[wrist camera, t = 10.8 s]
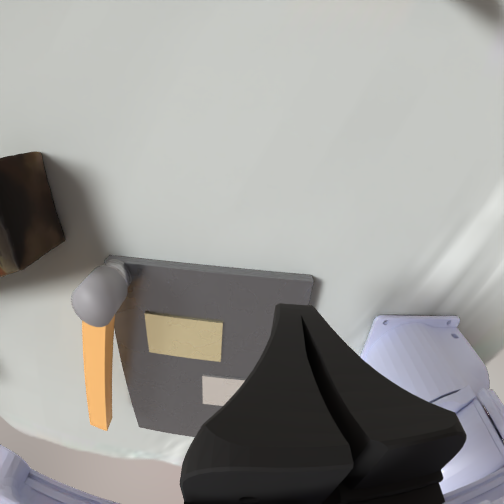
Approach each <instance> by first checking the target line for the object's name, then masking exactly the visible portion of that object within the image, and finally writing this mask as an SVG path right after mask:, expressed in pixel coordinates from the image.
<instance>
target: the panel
mask: <svg viewBox="0 0 504 504" xmlns="http://www.w3.org/2000/svg"><path fill="white" fill-rule="evenodd" d="M104 262H105V264H104V265H103V266H109V267H112V268H114V269H115V270H117V271H118V272H119V273H120V274H121V275H122V276H123V278H124V279H125V281H126V284H127V287H128V293H127V296H126V298H125V300H124V301H123V303H122V304H121V306H120V307H119V309H118V310H117V312H116V314H115V322H114V329H115V334H116V339H117V344H118V349H119V353H120V358H121V362H122V367H123V371H124V375H125V379H126V383H127V387H128V390H129V394H130V398H131V401H132V405H133V408H134V412H135V415H136V418H137V422H138V425H139V427H141V428H146V429H151V430H156V431H161V432H167V433H172V434H178V435H185V436H192V437H195V436H196V435H197V433H198V431H199V430H200V428H201V427H202V425H203V424H204V423H205V422H206V421H207V420H208V419H209V418H210V417H212V416H213V415H214V414H215V413H216V412H217V411H218V410H219V409H220V408H222V407H223V406H224V405H225V404H226V402H227V401H228V400H229V399H230V398H231V397H232V396H233V395H234V394H235V392H236V391H237V390H238V389H239V388H240V387H241V385H242V384H243V383H244V381H245V380H246V379H247V377H248V376H249V374H250V373H251V372H252V370H253V369H254V367H255V365H256V364H257V362H258V360H259V359H260V357H261V355H262V353H263V351H264V349H265V347H266V345H267V342H268V340H269V338H270V335H271V330H272V324H273V318H274V312H275V306H276V305H277V304H279V303H283V304H296V305H309V301H310V296H311V292H312V287H313V282H314V281H313V278H312V275H306V274H295V273H283V272H272V271H261V270H251V269H240V268H230V267H219V266H209V265H199V264H190V263H180V262H170V261H161V260H152V259H142V258H133V257H124V256H116V255H109V256H108V257H107V258H106V259H105V260H104Z"/></svg>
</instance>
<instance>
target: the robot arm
mask: <svg viewBox="0 0 504 504" xmlns="http://www.w3.org/2000/svg"><path fill="white" fill-rule="evenodd" d="M385 320H387V321H386V322H384V321H385ZM447 321H448V322H447ZM383 322H384V323H383ZM459 322H460V318H459V317H458V316H393V315H379V316H377V317H376V318H375V319H374V321H373V324H372V327H371V330H370V332H369V335H368V338H367V340H366V343H365V345H364V348H363V350H362V353H361V355H360V357H359V356H358V355H357V354H356V353H355V352H354V351H353V350H352V349H351V348H350V347H349V346H348V345H347V344H346V343H345V342H344V341H343V340H342V339H341V338H340V337H339V336H338V335H337V333H336V332H335V331H334V330H333V329H332V328H331V327H330V326H329V324H328V323H327V322H326V321H325V320H324V319H323V317H322V316H321V315H320V314H319V313H318V311H317V310H316V309H315V308H314V307H313V306H310V305H296V304H283V303H279V304H277V305H276V306H275V312H274V318H273V324H272V330H271V335H270V338H269V340H268V342H267V345H266V347H265V349H264V351H263V353H262V355H261V357H260V359H259V360H258V362H257V364H256V365H255V367H254V369H253V370H252V372H251V373H250V374H249V376H248V377H247V379H246V380H245V381H244V383H243V384H242V385H241V387H240V388H239V389H238V390H237V391H236V392H235V394H234V395H233V396H232V397H231V398H230V399H229V400H228V401H227V402H226V404H225V405H224V406H223V407H222V408H220V409H219V410H218V411H217V412H216V413H215V414H214V415H213V416H212V417H210V418H209V419H208V420H207V421H206V422H205V423H204V424H203V425H202V427H201V428H200V430H199V431H198V433H197V435H196V436H195V438H194V440H193V442H192V443H191V445H190V447H189V449H188V451H187V453H186V456H185V458H184V461H183V465H182V471H181V478H180V487H181V491H182V494H183V498H184V504H504V442H503V441H504V405H503V404H502V402H501V401H500V399H499V397H498V396H497V395H496V393H495V392H494V391H493V390H492V389H489V388H490V382H489V374H488V371H487V368H486V366H485V364H484V363H483V361H482V360H481V358H480V357H479V356H478V354H477V353H476V352H475V350H474V349H473V348H472V346H471V345H470V344H469V342H468V341H467V340H466V338H465V337H464V336H463V334H462V333H461V332H460V331H459V329H458V328H457V326H458V324H459ZM484 407H485V408H484ZM485 409H486V410H487V411H486V410H485ZM487 412H488V413H487ZM488 414H489V415H488ZM502 439H503V440H502ZM0 504H119V503H116V502H113V501H109V500H106V499H103V498H100V497H97V496H94V495H91V494H88V493H86V492H83V491H80V490H78V489H75V488H73V487H70V486H68V485H65V484H63V483H61V482H58V481H56V480H54V479H52V478H49V477H47V476H45V475H43V474H41V473H39V472H37V471H34V470H33V469H31V468H30V467H29V465H28V464H27V463H26V462H25V461H24V460H23V459H22V458H21V457H20V456H19V455H17V454H16V453H14V452H13V451H11V450H9V449H8V448H6V447H4V446H2V445H1V444H0Z"/></svg>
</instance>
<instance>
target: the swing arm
mask: <svg viewBox="0 0 504 504" xmlns="http://www.w3.org/2000/svg"><path fill="white" fill-rule="evenodd" d="M127 293H128V287H127V284H126V281H125V279H124V278H123V276H122V275H121V274H120V273H119V272H118V271H117V270H115V269H114V268H112V267H109V266H99V267H96V268H95V269H94V270H93V271H92V272H91V273H90V274H89V275H88V276H87V277H86V278H85V279H84V280H83V281H82V282H81V283H80V285H79V286H78V287H77V288H76V289H75V290H74V291H73V293H72V296H71V303H72V306H73V309H74V311H75V313H76V314H77V315H78V317H79V318H80V319H81V320H82V333H83V357H84V372H85V384H86V394H87V402H88V410H89V418H90V424H91V425H93V426H95V427H98V428H100V429H103V430H105V431H107V430H108V427H109V425H110V422H111V420H112V357H113V337H114V322H115V314H116V312H117V310H118V309H119V307H120V306H121V304H122V303H123V301H124V300H125V298H126V296H127Z"/></svg>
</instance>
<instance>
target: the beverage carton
mask: <svg viewBox="0 0 504 504" xmlns="http://www.w3.org/2000/svg"><path fill="white" fill-rule="evenodd" d="M64 241H65V237H64V234H63V231H62V228H61V225H60V222H59V219H58V217H57V214H56V210H55V207H54V203H53V200H52V197H51V191H50V188H49V184H48V181H47V177H46V172H45V169H44V164H43V158H42V154H41V153H40V152H29V153H24V154H17V155H14V156H7V157H3V158H0V277H3V276H6V275H8V274H11V273H14V272H17V271H19V270H23V269H25V268H26V267H27V266H29V265H31V264H32V263H33V262H35V261H36V260H38V259H39V258H40V257H41V256H43V255H45V254H46V253H47V252H49V251H50V250H52V249H53V248H55V247H56V246H58V245H59V244H61V243H62V242H64Z"/></svg>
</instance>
